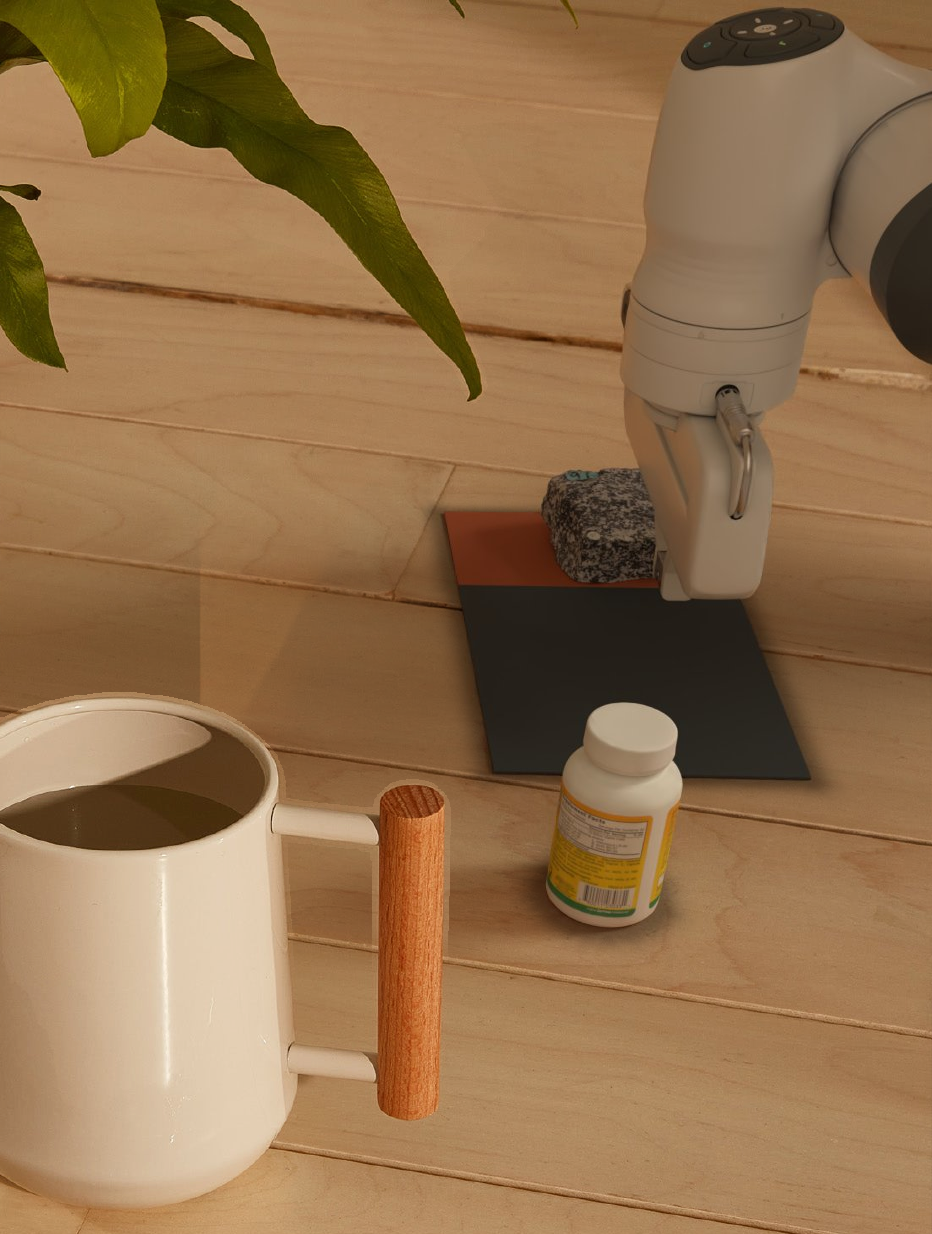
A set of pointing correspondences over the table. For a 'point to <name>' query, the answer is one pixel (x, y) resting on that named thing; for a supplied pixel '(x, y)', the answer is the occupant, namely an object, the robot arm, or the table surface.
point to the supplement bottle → (615, 817)
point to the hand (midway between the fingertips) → (672, 587)
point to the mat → (608, 659)
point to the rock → (601, 524)
